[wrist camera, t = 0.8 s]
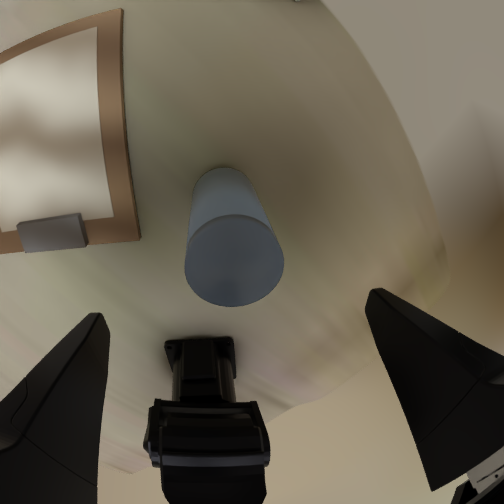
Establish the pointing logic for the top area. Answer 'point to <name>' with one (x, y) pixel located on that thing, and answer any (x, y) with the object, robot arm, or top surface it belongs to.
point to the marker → (230, 242)
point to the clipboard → (65, 140)
